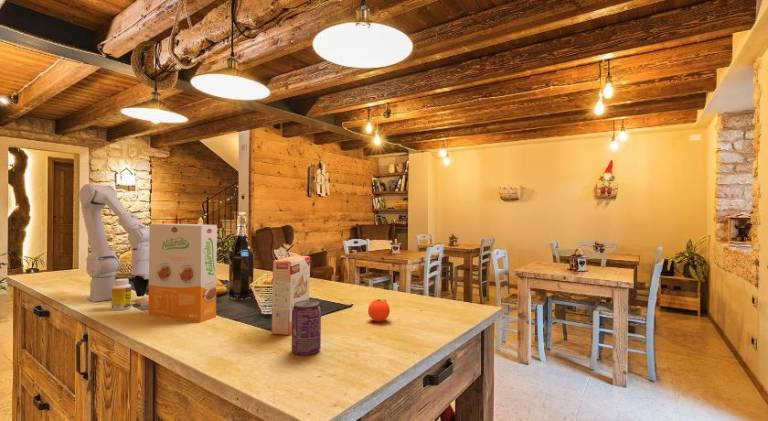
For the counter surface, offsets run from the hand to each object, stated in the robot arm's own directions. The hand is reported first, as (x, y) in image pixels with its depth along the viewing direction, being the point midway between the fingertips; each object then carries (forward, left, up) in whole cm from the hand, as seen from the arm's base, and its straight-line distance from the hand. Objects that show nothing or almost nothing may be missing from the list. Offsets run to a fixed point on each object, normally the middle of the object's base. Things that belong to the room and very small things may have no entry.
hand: (140, 296), depth 142 cm
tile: (+4, 0, -1) cm, 4 cm away
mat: (+10, 0, -2) cm, 10 cm away
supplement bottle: (+7, -8, -2) cm, 11 cm away
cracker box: (+69, +18, -2) cm, 71 cm away
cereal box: (+32, +2, -2) cm, 32 cm away
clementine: (+84, +41, -2) cm, 93 cm away
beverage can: (+87, +9, -2) cm, 87 cm away
